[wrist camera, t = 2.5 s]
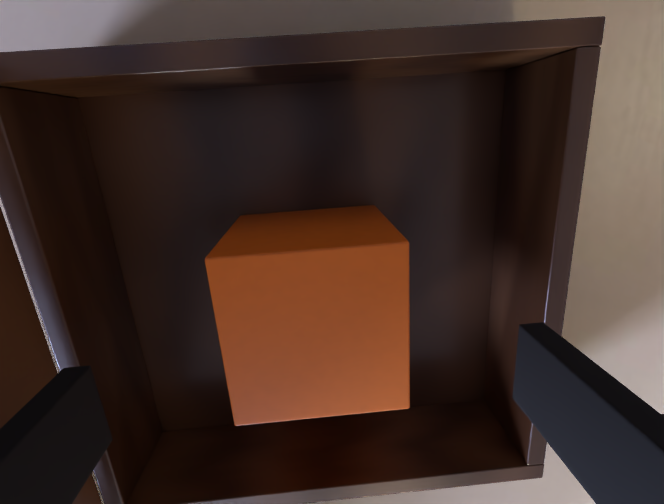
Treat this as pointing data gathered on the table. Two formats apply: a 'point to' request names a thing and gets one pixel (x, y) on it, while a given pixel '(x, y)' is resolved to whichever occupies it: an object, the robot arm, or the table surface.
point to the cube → (312, 314)
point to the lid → (23, 346)
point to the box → (297, 195)
